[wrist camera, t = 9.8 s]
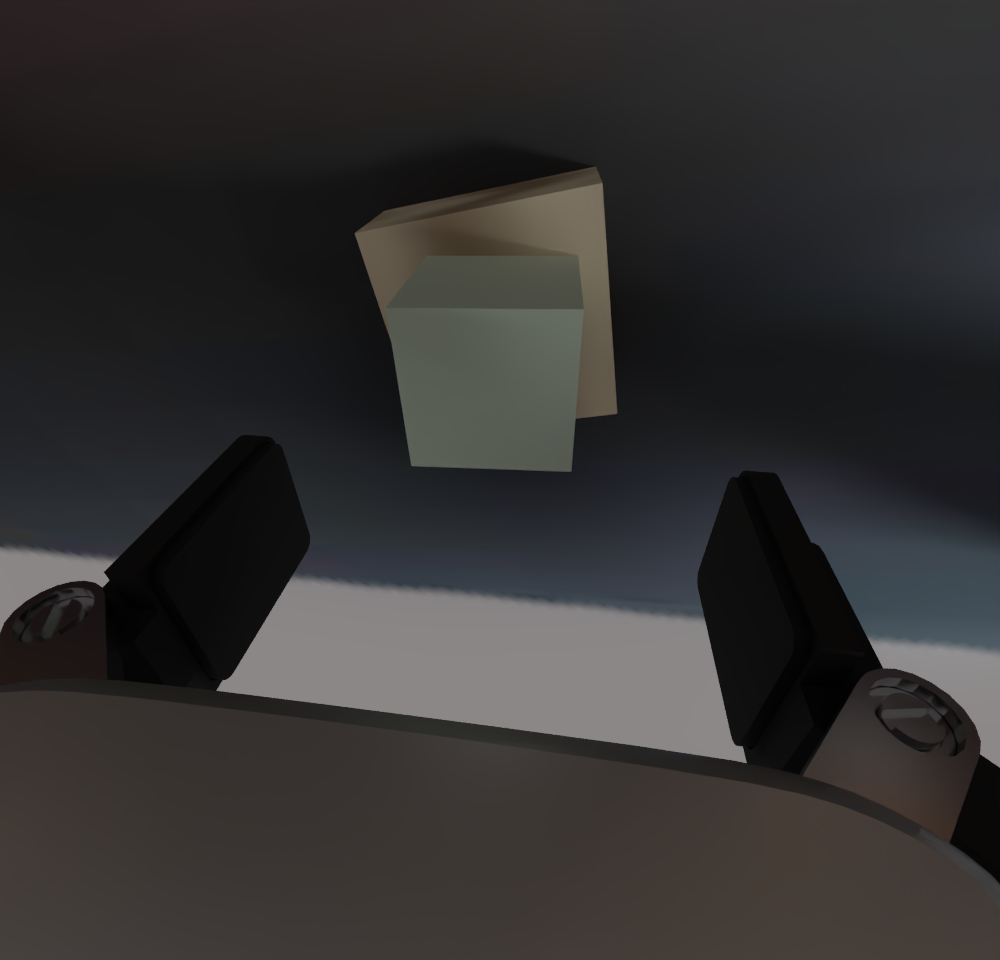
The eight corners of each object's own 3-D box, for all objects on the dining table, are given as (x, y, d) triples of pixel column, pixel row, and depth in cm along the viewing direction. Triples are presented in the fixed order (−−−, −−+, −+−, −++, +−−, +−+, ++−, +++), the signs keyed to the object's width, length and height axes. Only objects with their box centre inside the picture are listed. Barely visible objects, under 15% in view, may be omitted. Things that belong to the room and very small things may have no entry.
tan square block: (595, 165, 18) (602, 182, 15) (609, 368, 23) (617, 413, 20) (386, 208, 20) (354, 233, 17) (440, 391, 25) (423, 436, 21)
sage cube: (578, 255, 16) (583, 309, 13) (569, 393, 20) (571, 471, 16) (426, 255, 17) (385, 307, 13) (440, 390, 20) (411, 466, 16)
